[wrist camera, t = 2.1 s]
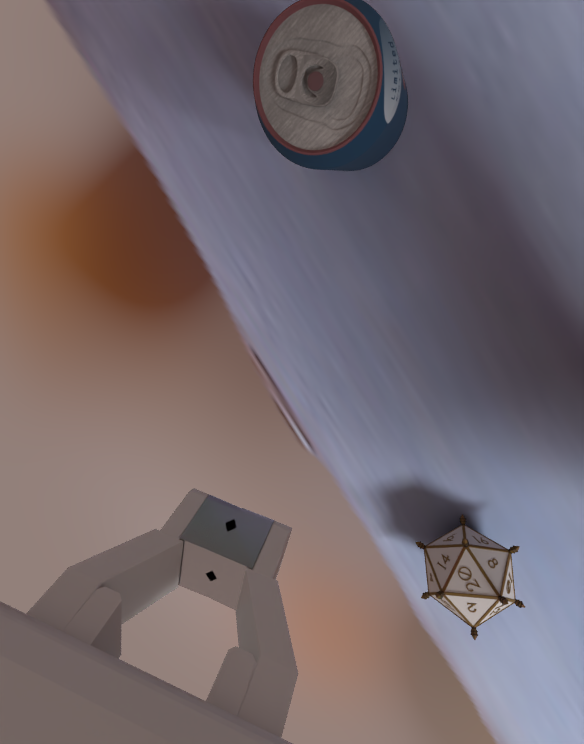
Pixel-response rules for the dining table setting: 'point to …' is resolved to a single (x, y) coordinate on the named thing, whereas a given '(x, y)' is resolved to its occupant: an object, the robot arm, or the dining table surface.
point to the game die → (470, 575)
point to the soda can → (330, 85)
